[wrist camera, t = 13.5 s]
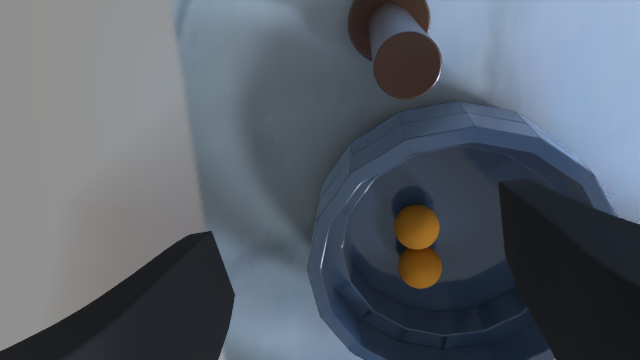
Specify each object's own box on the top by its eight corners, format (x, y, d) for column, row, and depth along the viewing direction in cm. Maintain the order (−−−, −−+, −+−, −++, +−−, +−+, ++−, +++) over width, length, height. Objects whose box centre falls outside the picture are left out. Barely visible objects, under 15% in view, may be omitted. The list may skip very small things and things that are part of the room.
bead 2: (430, 289, 21) (432, 243, 22) (388, 285, 22) (392, 241, 23) (447, 291, 23) (449, 248, 23) (407, 287, 24) (410, 246, 24)
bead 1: (386, 246, 21) (390, 234, 23) (431, 261, 21) (431, 248, 23) (400, 203, 21) (403, 195, 23) (446, 218, 21) (445, 208, 23)
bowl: (575, 72, 20) (622, 98, 16) (581, 308, 25) (619, 368, 21) (289, 129, 22) (276, 163, 18) (345, 338, 27) (343, 398, 23)
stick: (434, -17, 19) (492, 1, 11) (420, 65, 20) (461, 139, 12) (353, -26, 19) (347, -14, 11) (343, 56, 21) (332, 123, 12)
